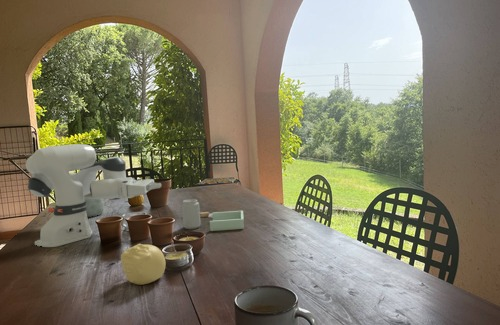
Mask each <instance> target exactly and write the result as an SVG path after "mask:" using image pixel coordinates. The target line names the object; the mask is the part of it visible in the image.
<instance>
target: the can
mask: <svg viewBox="0 0 500 325" xmlns="http://www.w3.org/2000/svg"><path fill="white" fill-rule="evenodd" d="M200 212H201V211H200V202H198V199H196V198H194V199H193V198H191V199H190V198H189V199H185V200H182V203H181V213H182V214H181V215H182V226H183V228H184V229H186V230H194V229H199V227H200V226H201V217H200Z"/></svg>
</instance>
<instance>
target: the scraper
mask: <svg viewBox="0 0 500 325" xmlns="http://www.w3.org/2000/svg"><path fill="white" fill-rule="evenodd" d="M200 218H208V219H211V218H212V213H210V211H204V212H203V211H200ZM212 219H213V218H212Z"/></svg>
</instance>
